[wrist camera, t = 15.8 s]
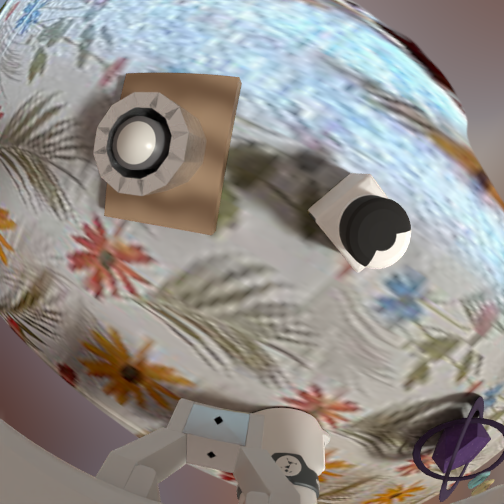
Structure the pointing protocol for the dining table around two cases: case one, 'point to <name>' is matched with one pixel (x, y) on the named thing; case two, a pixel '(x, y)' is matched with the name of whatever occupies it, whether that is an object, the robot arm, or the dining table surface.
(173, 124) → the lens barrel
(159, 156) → the gray white-topped cylinder
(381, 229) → the medicine bottle
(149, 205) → the mounting block
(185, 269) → the dining table surface
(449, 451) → the decorative bottle
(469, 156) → the dining table surface
